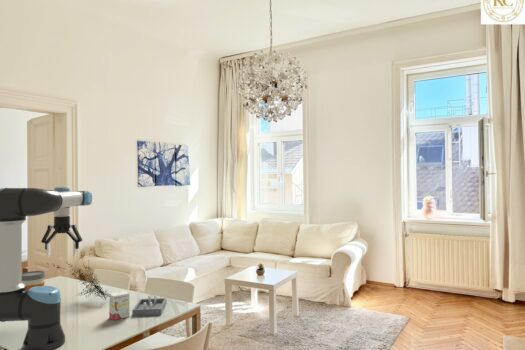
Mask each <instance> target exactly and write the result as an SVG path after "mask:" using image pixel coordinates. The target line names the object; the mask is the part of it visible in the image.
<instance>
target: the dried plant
mask: <svg viewBox="0 0 525 350" xmlns="http://www.w3.org/2000/svg"><path fill="white" fill-rule="evenodd" d="M92 250H93V249H92V248H90V251H89V252H88V253H89V255H88V256H90V255H91V254H93V253H92V252H91V251H92ZM83 253H84V251H82V250H80V254H81V255H80V257H84V256H85V254H83ZM83 259H84V258H81V260H82V262H83V268H84V269H85V271H82V268H79V267H77V266H75V265H73V264H72V263H71V262H69V263H68V261H65V264H67V266H68V268H70V269H69V273H71V276H73V278H74V279H75V280H79V281H78V282H79V283H81V284H82V286H85V288H83V290H82V292H80V296H87V294H88V296H87V297H89V296H91V295H94V299H95V297H99V298H102V299H104V301H107V298H108V297H109V298H110V294H108V292H107V290H103V287H102V286H101V285H100V283H101V281H100V279H99V278H98V277H97V276H98V275H97V274H95V271H93V270H94V269H93V268H92V267H91V266H90V265H89V263H90V260H87V261H88V264H87V265H85V264H84V261H83ZM42 265H44V263H41V266H42ZM46 265H47V266H49V265H51V266H52V267H51V268H52V269H53V267H56V269H59V268H60V269H62V267H60V266H59V264H56V265H55V264H54V263H51V264H50V263H48V262H46ZM63 269H64V270H66V268H65V267H63ZM72 271H73V272H72ZM94 274H95V275H94ZM77 275H78V276H77ZM87 284H88V285H87ZM76 296H79V293H78V294H76Z"/></svg>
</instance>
